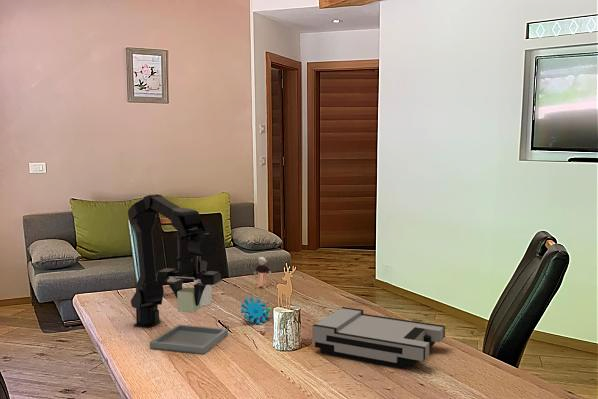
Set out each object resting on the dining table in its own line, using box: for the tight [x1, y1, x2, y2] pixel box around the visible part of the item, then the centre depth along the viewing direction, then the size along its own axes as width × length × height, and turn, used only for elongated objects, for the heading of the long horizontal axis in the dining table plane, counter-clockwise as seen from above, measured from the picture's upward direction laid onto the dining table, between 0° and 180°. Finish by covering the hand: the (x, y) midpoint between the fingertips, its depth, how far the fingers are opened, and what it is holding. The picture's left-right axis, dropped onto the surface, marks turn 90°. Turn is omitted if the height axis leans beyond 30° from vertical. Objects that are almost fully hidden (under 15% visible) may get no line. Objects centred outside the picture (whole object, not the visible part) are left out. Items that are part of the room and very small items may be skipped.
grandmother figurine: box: [253, 256, 272, 289], centre depth 237 cm, size 8×4×13 cm, turn 80°
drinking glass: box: [193, 280, 213, 307], centre depth 214 cm, size 7×7×10 cm
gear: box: [240, 296, 272, 325], centre depth 194 cm, size 11×6×10 cm
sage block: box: [176, 286, 202, 314], centre depth 172 cm, size 5×5×6 cm
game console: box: [311, 306, 446, 370], centre depth 165 cm, size 21×32×8 cm, turn 61°
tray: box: [149, 323, 229, 356], centre depth 173 cm, size 17×17×2 cm
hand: (189, 304), depth 172 cm, fingers closed on sage block, 5 cm apart
